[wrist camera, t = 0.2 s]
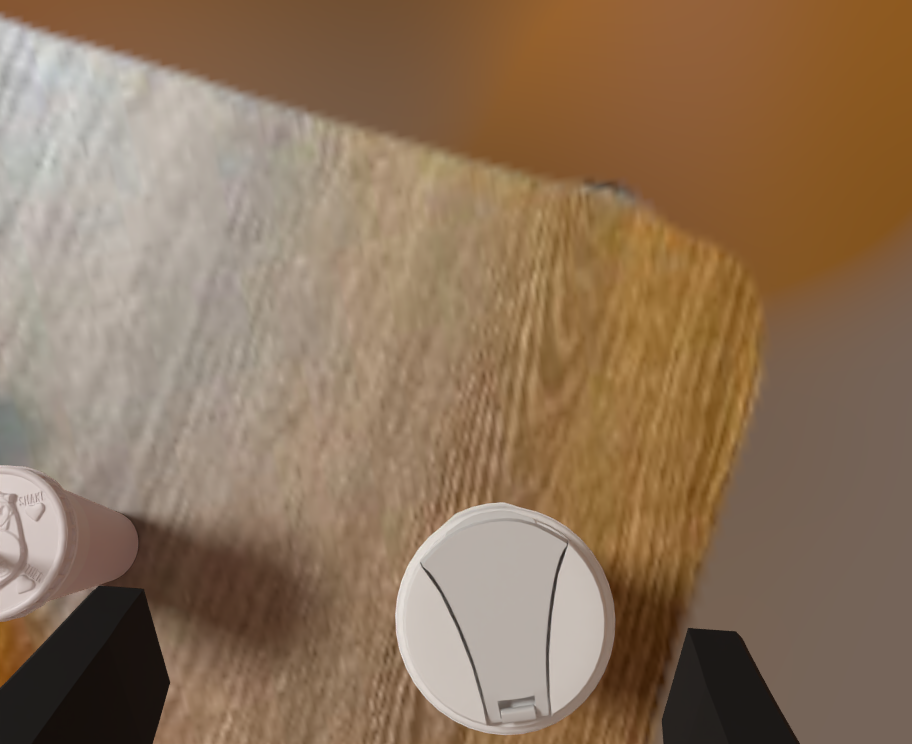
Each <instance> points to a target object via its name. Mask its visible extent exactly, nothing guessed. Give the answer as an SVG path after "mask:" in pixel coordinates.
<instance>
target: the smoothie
mask: <svg viewBox="0 0 912 744" xmlns="http://www.w3.org/2000/svg"><path fill="white" fill-rule="evenodd" d="M137 552H138V535H137V531H136V529H135V527H134V525H133V524H132V522H131V521H130V520H129V519H128V518H127V517H126V516H124V515H123V514H121V513H119V512H116V511H114V510H111V509H109V508H107V507H104V506H102V505H100V504H97V503H95V502H92V501H90V500H88V499H85V498H83V497H81V496H78V495H76V494H73V493H71V492H69V491H66V490H64V489H63V488H62V487H61V486H60V484H59V483H58V482H57V481H55V480H54V479H52V478H51V477H49V476H48V475H46V474H45V473H43V472H42V471H38V470H35V469H31V468H28V467H24V466H0V621H8V620H12V619H16V618H20V617H23V616H26V615H27V614H29V613H31V612H33V611H35V610H36V609H38V608H40V607H42V606H43V605H44V604H45V603H46V602H47V601H50V600H53V599H56V598H59V597H62V596H66V595H69V594H72V593H75V592H78V591H81V590H84V589H88V588H91V587H94V586H97V585H100V584H103V583H106V582H109V581H113V580H115V579H117V578H119V577H120V576H122V575H123V574H124V573H125V572H126V571H127V570H128V569H129V568H130V567H131V565H132V564H133V562H134V560H135V558H136V555H137Z"/></svg>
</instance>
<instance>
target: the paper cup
mask: <svg viewBox="0 0 912 744" xmlns="http://www.w3.org/2000/svg"><path fill="white" fill-rule="evenodd" d="M395 618H396V635H397V640H398V645H399V650H400V653H401V656H402V658H403V661H404V664H405V667H406V669H407V671H408V673H409V674H410V676H411V678H412V680H413V682H414V683H415V685H416V686H417V687H418V689H419V690H420V691H421V693H422V694H423V695H424V697H425V698H426V699H427V700H428V701H429V702H430V703H431V704H432V705H434V706H435V707H436V708H437V709H438V710H439V711H440V712H442V713H443V714H445V715H446V716H448V717H449V718H450V719H452V720H453V721H456V722H458V723H460V724H462V725H464V726H466V727H468V728H471V729H474V730H478V731H481V732H485V733H491V734H500V735H512V734H524V733H528V732H533V731H537V730H540V729H543V728H545V727H548V726H550V725H553V724H555V723H557V722H558V721H560V720H562V719H563V718H565V717H566V716H568V715H570V714H571V713H572V712H573V711H574V710H576V709H577V708H578V707H579V706H580V705H581V704H582V703H583V702H584V701H585V700H586V699H587V698H588V696H589V695H590V694H591V693H592V692H593V690H594V689H595V688H596V686H597V684H598V683H599V681H600V679H601V677H602V676H603V674H604V672H605V669H606V667H607V664H608V661H609V659H610V656H611V652H612V647H613V642H614V637H615V611H614V601H613V598H612V594H611V590H610V586H609V583H608V581H607V578H606V576H605V574H604V571H603V569H602V567H601V565H600V564H599V562H598V560H597V559H596V557H595V556H594V554H593V552H592V551H591V550H590V549H589V548H588V547H587V545H586V544H585V543H584V542H583V541H582V539H580V538H579V537H578V536H577V535H576V534H575V533H573V532H572V531H571V530H570V529H569V528H568V527H566V526H564V525H563V524H561V523H560V522H558V521H556V520H555V519H553V518H551V517H548V516H546V515H544V514H541V513H539V512H536V511H532V510H528V509H524V508H520V507H517V506H514V505H511V504H507V503H489V504H484V505H479V506H475V507H471V508H468V509H466V510H463V511H461V512H458V513H456V514H455V515H454V516H452V517H451V518H450V519H449V520H448V521H447V522H446V523H445V524H444V525H443V526H441V527H440V528H439V529H438V530H437V531H436V532H434V533H433V534H432V535H431V536H430V537H429V538H428V539H427V540H426V541H425V542H424V543H423V544H422V546H421V547H420V548H419V549H418V550H417V552H416V554H415V555H414V557H413V558H412V560H411V562H410V563H409V565H408V567H407V569H406V572H405V574H404V576H403V579H402V581H401V585H400V589H399V593H398V597H397V605H396V614H395Z"/></svg>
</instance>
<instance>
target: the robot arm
mask: <svg viewBox="0 0 912 744" xmlns="http://www.w3.org/2000/svg"><path fill="white" fill-rule="evenodd" d="M169 685H170V680H169V677H168V673H167V670H166V666H165V663H164V659H163V656H162V652H161V649H160V645H159V642H158V638H157V634H156V631H155V627H154V624H153V620H152V617H151V613H150V610H149V606H148V603H147V599H146V596H145V592H144V589H137V588H123V587H109V586H98V587H97V588H96V589H95V590H93V591H92V592H91V593H90V594H89V595H88V596H87V598H86V599H85V600H84V601H83V602H82V603H81V604H80V605H79V606H78V607H77V608H76V609H75V610H74V611H73V612H72V613H71V614H70V616H69V617H68V618H67V619H66V620H65V621H64V622H63V623H62V624H61V625H60V626H59V627H58V628H57V629H56V630H55V631H54V633H53V634H52V635H51V636H50V637H49V638H48V639H47V640H46V641H45V642H44V643H43V644H42V645H41V646H40V647H39V648H38V649H37V650H36V652H35V653H34V654H33V655H32V656H31V657H30V658H29V659H28V660H27V661H26V662H25V663H24V664H23V665H22V666H21V667H20V668H19V669H18V670H17V671H16V672H15V673H14V674H13V675H12V677H11V678H10V679H9V680H8V681H7V682H6V683H5V684H4V685H3V686H2V687H1V688H0V744H153V740H154V737H155V734H156V730H157V727H158V724H159V720H160V717H161V713H162V710H163V706H164V702H165V699H166V695H167V692H168V688H169ZM662 729H663V742H664V744H800V743H799V741H798V740H797V738H796V736H795V735H794V733H793V731H792V729H791V728H790V726H789V724H788V722H787V721H786V719H785V717H784V715H783V714H782V712H781V710H780V709H779V707H778V705H777V703H776V701H775V700H774V698H773V696H772V694H771V692H770V690H769V689H768V687H767V685H766V683H765V681H764V679H763V678H762V676H761V674H760V672H759V670H758V668H757V666H756V664H755V662H754V661H753V658H752V657H751V655H750V653H749V651H748V649H747V647H746V645H745V643H744V641H743V639H742V638H741V636H740V635H739V634H738V633H737V632H735V631H720V630H706V629H693V628H688V630H687V634H686V637H685V641H684V644H683V648H682V651H681V655H680V658H679V662H678V665H677V669H676V672H675V676H674V679H673V683H672V686H671V690H670V693H669V697H668V700H667V704H666V707H665V711H664V714H663V718H662Z"/></svg>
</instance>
